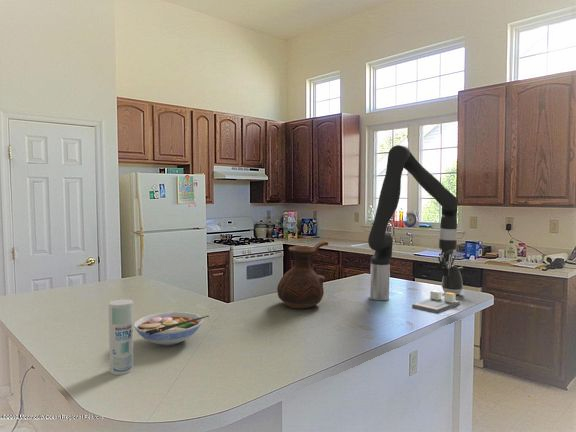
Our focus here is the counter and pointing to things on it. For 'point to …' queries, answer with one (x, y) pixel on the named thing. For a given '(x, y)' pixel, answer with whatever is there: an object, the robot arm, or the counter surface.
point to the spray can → (121, 336)
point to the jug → (302, 280)
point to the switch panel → (434, 305)
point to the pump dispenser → (453, 281)
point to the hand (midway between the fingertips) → (446, 275)
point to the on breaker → (435, 295)
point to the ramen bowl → (168, 327)
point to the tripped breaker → (449, 297)
